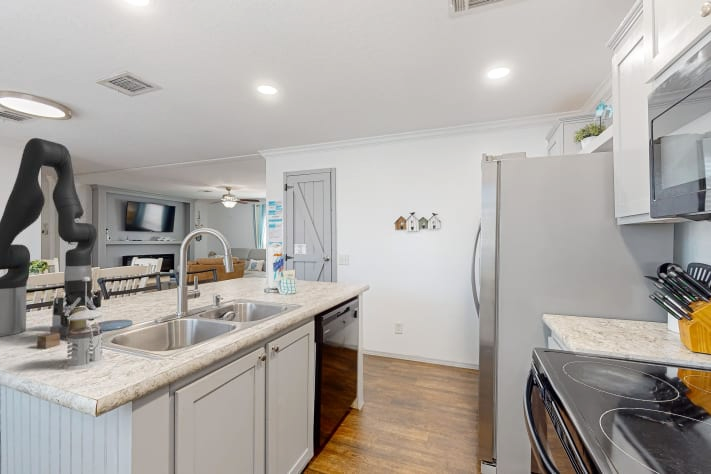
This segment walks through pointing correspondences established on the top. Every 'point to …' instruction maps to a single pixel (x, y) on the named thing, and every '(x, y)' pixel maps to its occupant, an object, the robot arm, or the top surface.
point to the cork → (76, 323)
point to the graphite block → (59, 330)
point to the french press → (84, 340)
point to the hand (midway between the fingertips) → (78, 323)
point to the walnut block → (48, 340)
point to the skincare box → (57, 317)
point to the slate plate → (113, 325)
